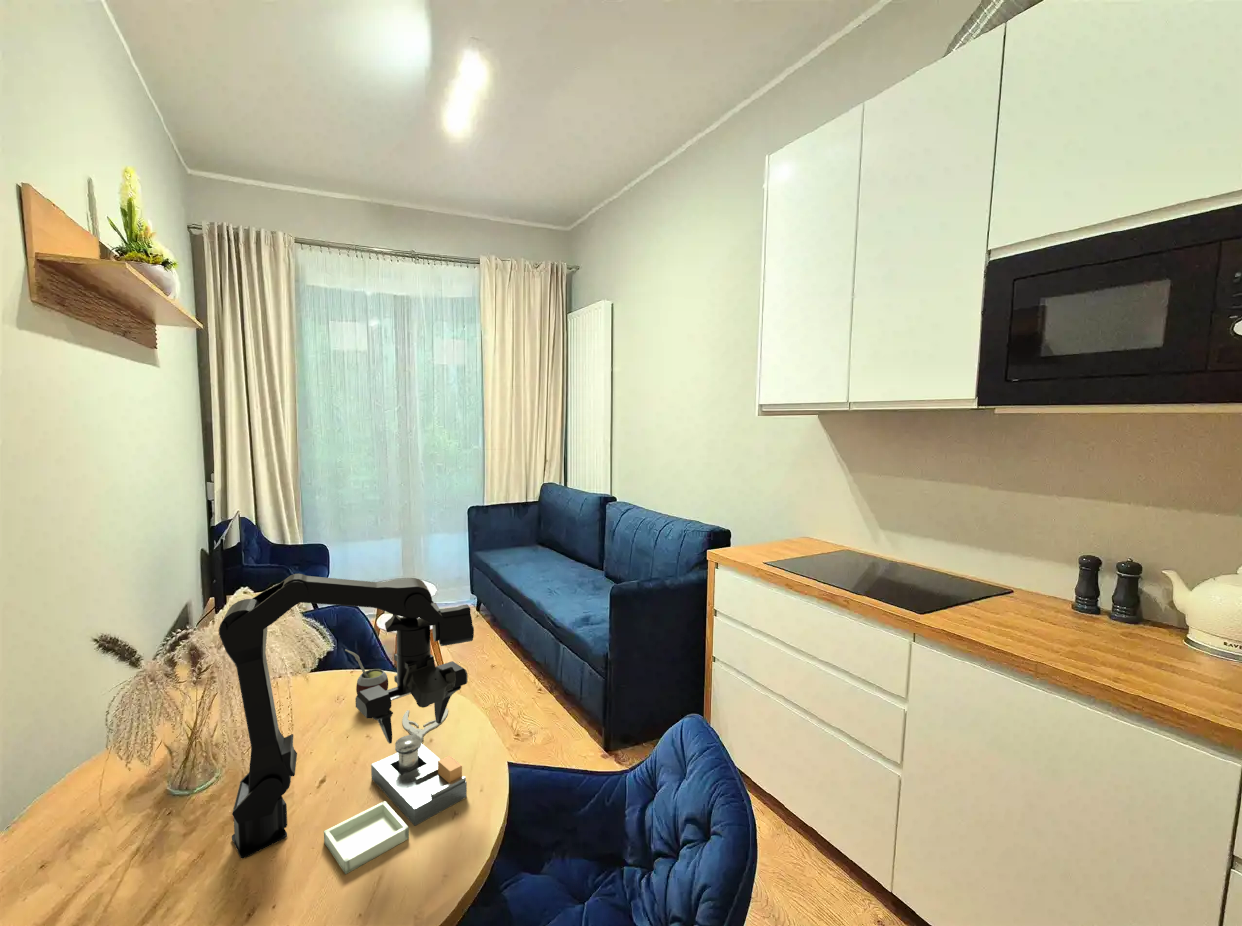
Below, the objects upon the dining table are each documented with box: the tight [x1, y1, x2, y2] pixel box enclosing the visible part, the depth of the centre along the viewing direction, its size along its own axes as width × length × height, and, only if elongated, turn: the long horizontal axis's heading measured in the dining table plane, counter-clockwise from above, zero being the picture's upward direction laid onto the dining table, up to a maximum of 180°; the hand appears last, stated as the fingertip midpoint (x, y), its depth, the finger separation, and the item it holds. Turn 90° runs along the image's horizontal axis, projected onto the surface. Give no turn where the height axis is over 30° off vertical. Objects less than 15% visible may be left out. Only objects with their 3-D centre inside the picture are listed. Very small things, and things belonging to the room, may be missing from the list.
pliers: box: [401, 707, 449, 744], centre depth 123 cm, size 10×2×15 cm
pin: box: [394, 734, 421, 776], centre depth 106 cm, size 5×5×8 cm
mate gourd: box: [344, 649, 389, 696], centre depth 131 cm, size 8×8×15 cm
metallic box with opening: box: [370, 743, 468, 826], centre depth 103 cm, size 10×18×4 cm, turn 47°
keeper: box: [438, 754, 463, 783], centre depth 102 cm, size 2×4×2 cm, turn 47°
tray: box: [323, 800, 410, 875], centre depth 90 cm, size 10×9×2 cm
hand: (414, 732), depth 101 cm, fingers open, 9 cm apart
